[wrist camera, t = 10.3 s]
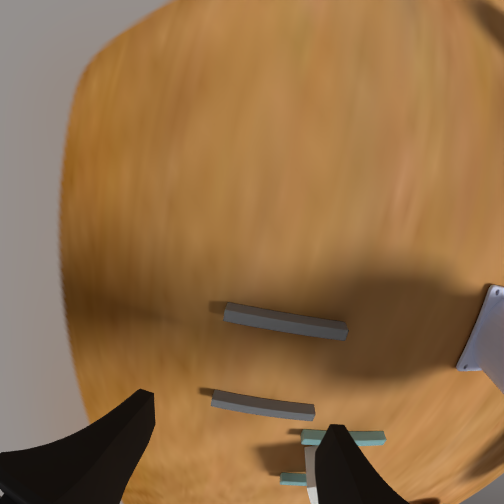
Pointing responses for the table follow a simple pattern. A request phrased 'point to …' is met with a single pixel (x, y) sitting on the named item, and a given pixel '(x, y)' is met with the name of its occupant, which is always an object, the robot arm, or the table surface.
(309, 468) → the grey cube
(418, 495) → the table surface
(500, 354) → the robot arm
